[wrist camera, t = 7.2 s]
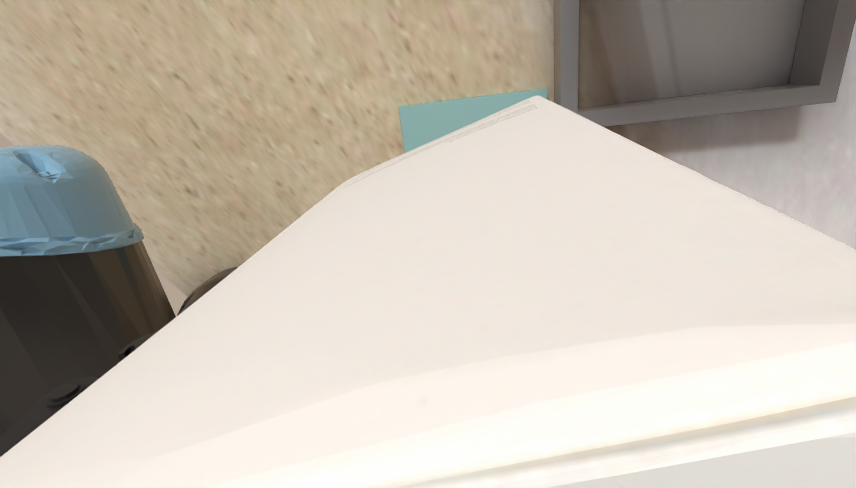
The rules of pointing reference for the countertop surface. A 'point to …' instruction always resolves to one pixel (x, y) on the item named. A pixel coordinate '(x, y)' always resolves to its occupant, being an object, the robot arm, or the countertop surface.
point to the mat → (453, 115)
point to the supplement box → (493, 337)
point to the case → (809, 84)
